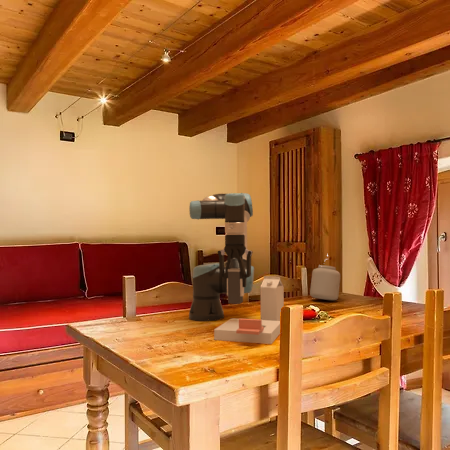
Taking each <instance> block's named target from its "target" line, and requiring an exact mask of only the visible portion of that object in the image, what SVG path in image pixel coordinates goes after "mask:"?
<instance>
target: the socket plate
mask: <svg viewBox="0 0 450 450" xmlns="http://www.w3.org/2000/svg"><path fill="white" fill-rule="evenodd" d="M239 319H240V318H230V319H227V320H226V321H225V322H223V323H222V324H220V325H219V326H217V327H216V328H214V329H213V338H214V339H213V340H214V341H223V342H238V343H251V344H253V343H254V344H264V345H265V344H267V345H272V344H273V343H274V342H275V340H276V339H277V338H278V336H280V334H281V333H280V321H270V320H262V327H264V330H263V331H262V332H261V333H260V334H259V335H255V334H240V333H236V330H237V329H239Z"/></svg>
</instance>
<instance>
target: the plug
mask: <svg viewBox="0 0 450 450" xmlns="http://www.w3.org/2000/svg"><path fill="white" fill-rule="evenodd" d="M241 278H242V276H241V271H240V268H230V269H228V296H227V301H228V302H227V303H228V304H232V305H233V304H235V305H240V304H241V303H243V302H244V299H243V298H244V296H240V279H241Z"/></svg>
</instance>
